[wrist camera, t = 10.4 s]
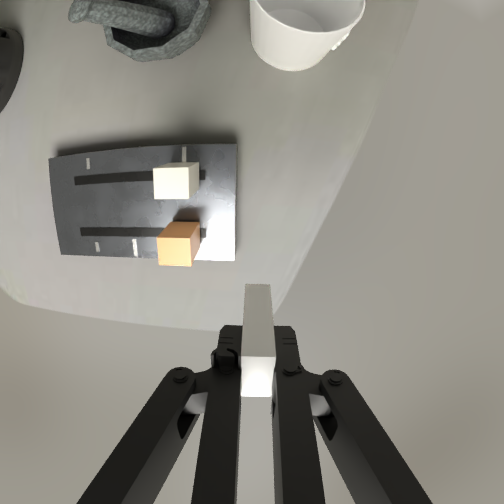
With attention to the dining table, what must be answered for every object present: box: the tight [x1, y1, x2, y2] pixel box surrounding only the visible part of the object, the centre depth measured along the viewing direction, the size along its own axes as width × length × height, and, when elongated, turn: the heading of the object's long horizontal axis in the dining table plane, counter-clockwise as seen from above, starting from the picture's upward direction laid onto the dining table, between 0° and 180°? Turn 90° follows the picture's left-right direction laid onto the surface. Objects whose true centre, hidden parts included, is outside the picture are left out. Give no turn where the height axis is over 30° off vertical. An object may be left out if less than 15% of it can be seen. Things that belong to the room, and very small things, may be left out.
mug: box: [250, 0, 365, 71], centre depth 17 cm, size 8×12×12 cm
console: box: [49, 144, 237, 261], centre depth 30 cm, size 22×12×2 cm, turn 88°
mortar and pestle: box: [68, 0, 211, 62], centre depth 18 cm, size 11×9×12 cm
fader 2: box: [157, 222, 200, 266], centre depth 27 cm, size 3×3×5 cm
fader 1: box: [153, 162, 199, 199], centre depth 25 cm, size 3×3×5 cm
